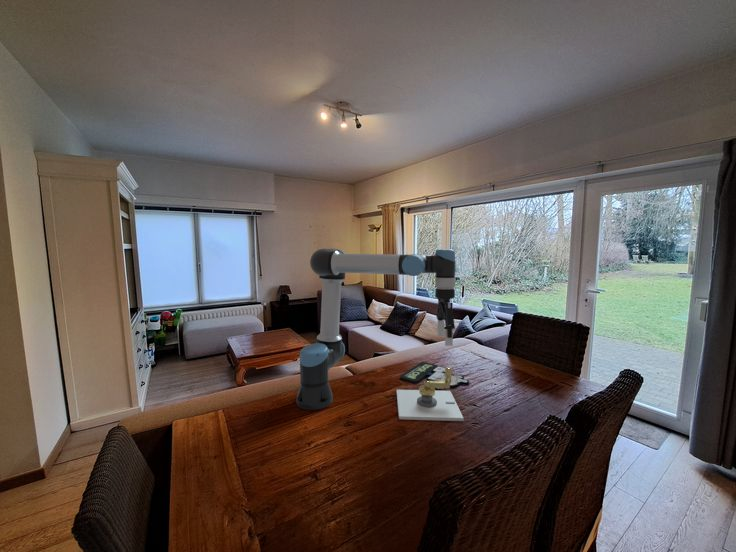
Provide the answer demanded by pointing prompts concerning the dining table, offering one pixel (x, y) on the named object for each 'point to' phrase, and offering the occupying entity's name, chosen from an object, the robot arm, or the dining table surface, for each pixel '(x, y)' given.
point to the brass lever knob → (435, 384)
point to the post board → (427, 406)
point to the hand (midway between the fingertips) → (444, 340)
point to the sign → (431, 375)
